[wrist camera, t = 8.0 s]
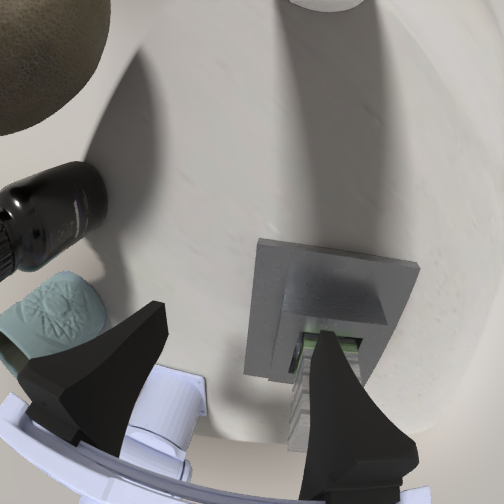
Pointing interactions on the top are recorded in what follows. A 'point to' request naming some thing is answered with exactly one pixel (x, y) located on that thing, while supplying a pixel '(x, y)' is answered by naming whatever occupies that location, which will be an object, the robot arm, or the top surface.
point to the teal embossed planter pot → (50, 320)
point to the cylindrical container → (327, 4)
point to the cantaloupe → (47, 56)
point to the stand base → (322, 304)
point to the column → (301, 389)
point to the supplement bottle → (48, 215)
